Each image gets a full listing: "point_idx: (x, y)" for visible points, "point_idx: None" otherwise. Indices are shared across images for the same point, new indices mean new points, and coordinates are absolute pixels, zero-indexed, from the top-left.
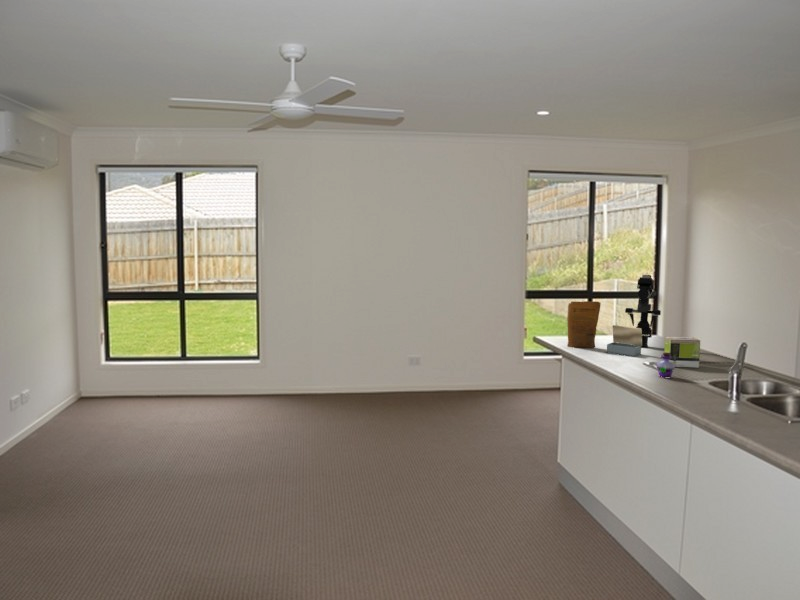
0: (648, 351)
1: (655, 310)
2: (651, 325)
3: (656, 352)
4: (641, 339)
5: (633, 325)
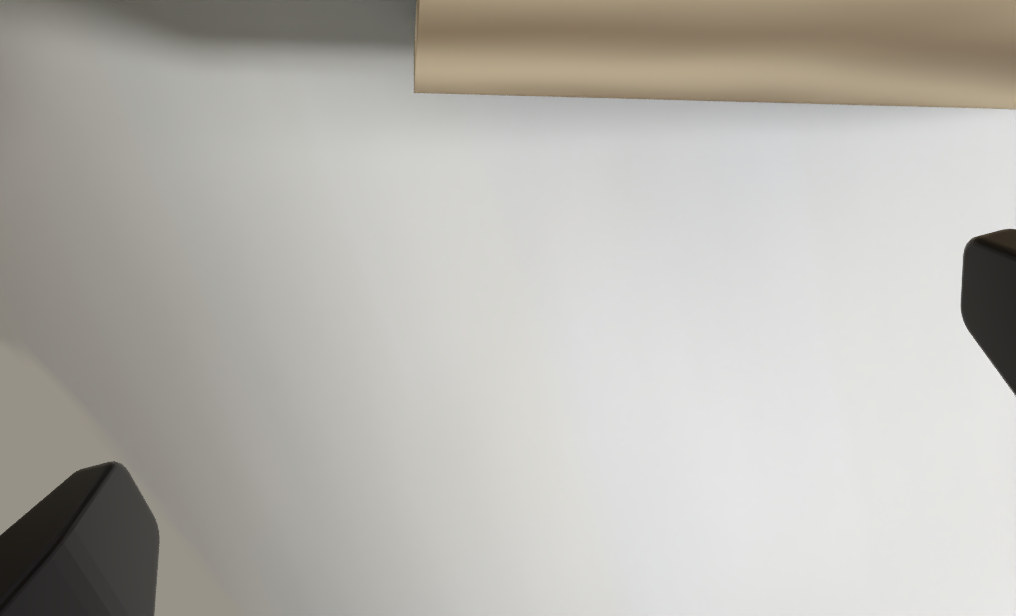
0: (418, 467)
1: None
2: (6, 533)
3: (275, 480)
4: (416, 7)
5: (987, 237)
